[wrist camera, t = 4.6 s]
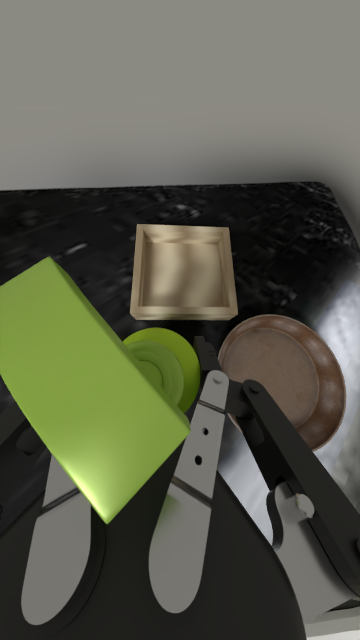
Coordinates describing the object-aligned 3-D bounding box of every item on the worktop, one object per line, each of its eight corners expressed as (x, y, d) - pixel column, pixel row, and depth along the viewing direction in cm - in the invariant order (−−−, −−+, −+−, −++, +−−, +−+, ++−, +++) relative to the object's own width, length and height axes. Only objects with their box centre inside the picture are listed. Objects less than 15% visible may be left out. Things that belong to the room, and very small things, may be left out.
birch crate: (136, 319, 23) (130, 313, 20) (141, 240, 27) (137, 224, 24) (228, 320, 24) (237, 314, 21) (221, 243, 28) (228, 227, 24)
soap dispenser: (163, 331, 23) (103, 197, 4) (193, 365, 22) (332, 421, 3) (133, 358, 22) (-171, 359, 3) (164, 395, 21) (27, 876, 1)
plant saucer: (227, 304, 25) (234, 297, 22) (328, 339, 24) (350, 336, 21) (196, 415, 21) (200, 425, 18) (318, 461, 20) (344, 479, 17)
